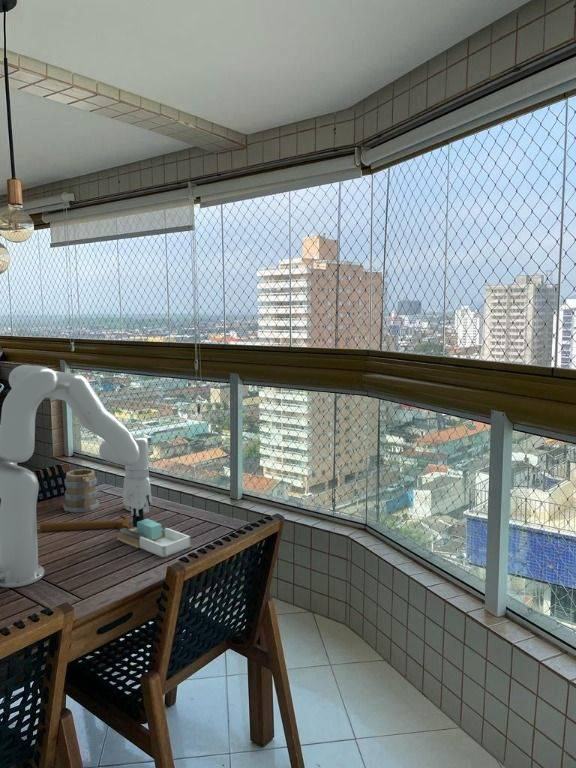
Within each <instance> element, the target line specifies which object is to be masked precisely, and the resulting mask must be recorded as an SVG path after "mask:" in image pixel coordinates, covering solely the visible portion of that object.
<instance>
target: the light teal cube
mask: <svg viewBox="0 0 576 768" xmlns="http://www.w3.org/2000/svg"><path fill="white" fill-rule="evenodd" d="M162 527H163V526H162V523H159V522H156V521H154V522H151V523H148V524H145V525H144V536H145V537H146V538H149V539H155V538H158V537H161V536H162V529H163V528H162Z"/></svg>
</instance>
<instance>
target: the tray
mask: <svg viewBox="0 0 576 768" xmlns="http://www.w3.org/2000/svg"><path fill="white" fill-rule="evenodd" d="M164 530H165V537H164V538H161V539H158V540H156V541H152V540H149V539H147V538H144V537H140V547H139V549H141V550H144V551H146V552H149V553H151V554H154V555H155V556H158V557H161V558H163V559H164V558H167V557H169V556H171V555H174V554H177V553H179V552H181V551H185V550H187V549H189V548H191V547H192V536H190V535H189V534H188V535H187V534H184V533H182V532H180V531H177V530H173V529H171V528H169V527H165V528H164ZM184 549H185V550H184Z"/></svg>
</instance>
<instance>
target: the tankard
mask: <svg viewBox="0 0 576 768" xmlns="http://www.w3.org/2000/svg"><path fill="white" fill-rule="evenodd" d="M96 485H98V478H97V477H96V471H95V470H94V469H89V468H80V469H72V470H70V471H67V472H66V473H65V478H64V486H65V488H66V490H65V491H64V497H65V500H66V501H65V502H63V503H62V505H63V510H64V511H65V512H67V511H69V512H68V513H74V512H75V513H76V514H78V513H77V512H79V513H83V512H84V513H86V512H91V511H93V510H95V509H98V508H99V507H100V502H99V500H98V499H97V497H98V490H97V488H96ZM85 511H86V512H85ZM75 513H74V514H75Z"/></svg>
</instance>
